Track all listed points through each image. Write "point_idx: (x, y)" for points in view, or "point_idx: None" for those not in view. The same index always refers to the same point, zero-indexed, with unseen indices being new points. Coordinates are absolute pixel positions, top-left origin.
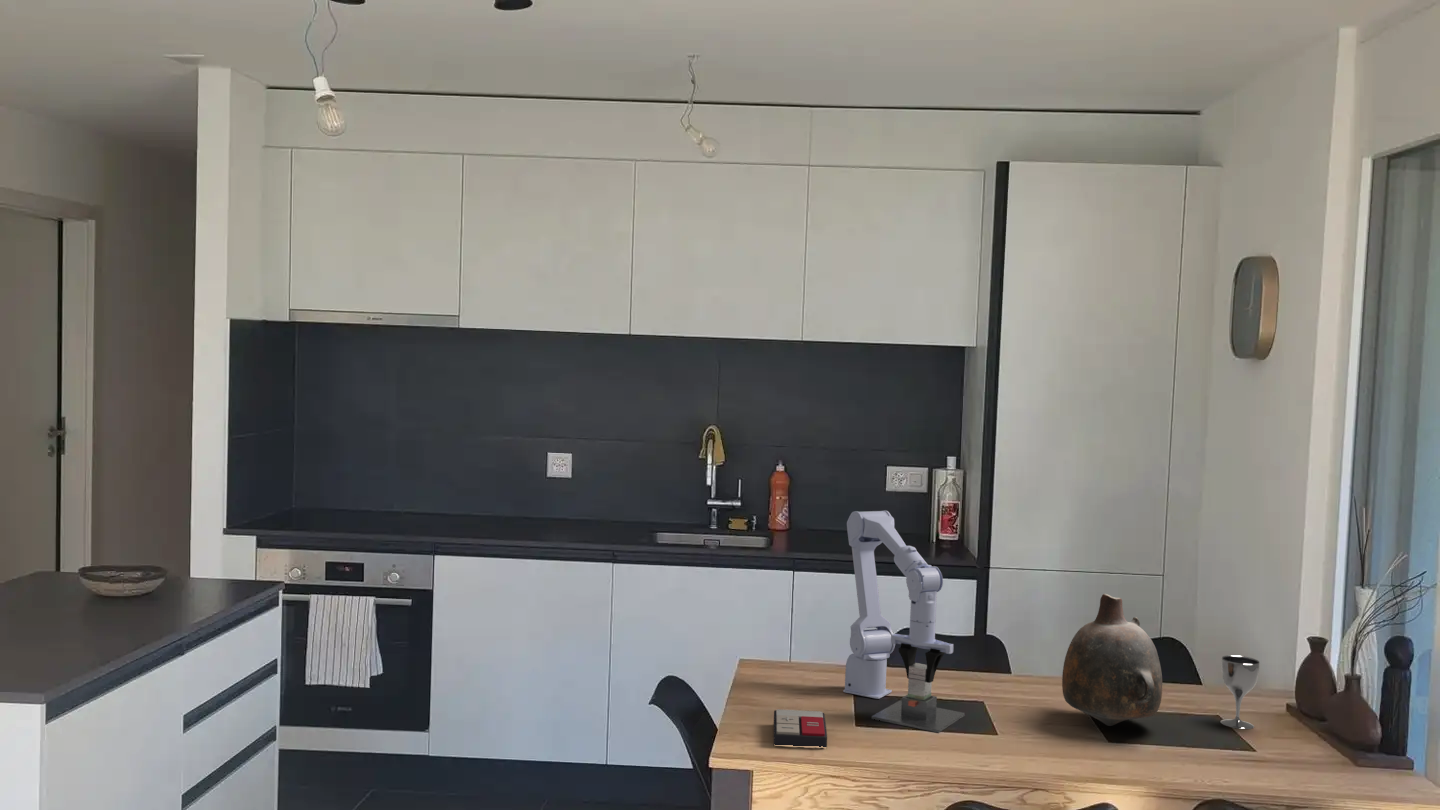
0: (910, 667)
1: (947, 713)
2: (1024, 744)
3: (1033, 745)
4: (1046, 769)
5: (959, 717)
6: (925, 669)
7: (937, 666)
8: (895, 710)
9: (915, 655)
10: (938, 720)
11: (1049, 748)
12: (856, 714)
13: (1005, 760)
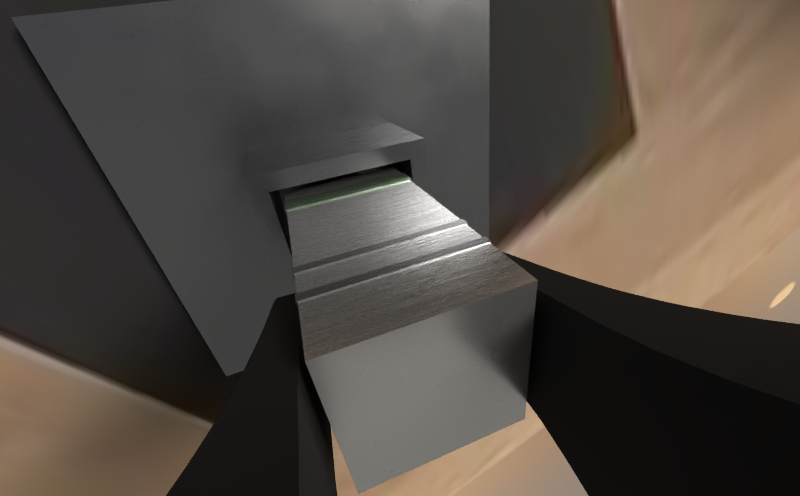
0: (373, 477)
1: (426, 63)
2: (703, 159)
3: (724, 146)
4: (725, 272)
5: (486, 62)
6: (522, 419)
7: (609, 290)
8: (217, 240)
9: (303, 489)
10: (443, 200)
11: (758, 134)
12: (131, 382)
13: (657, 298)
